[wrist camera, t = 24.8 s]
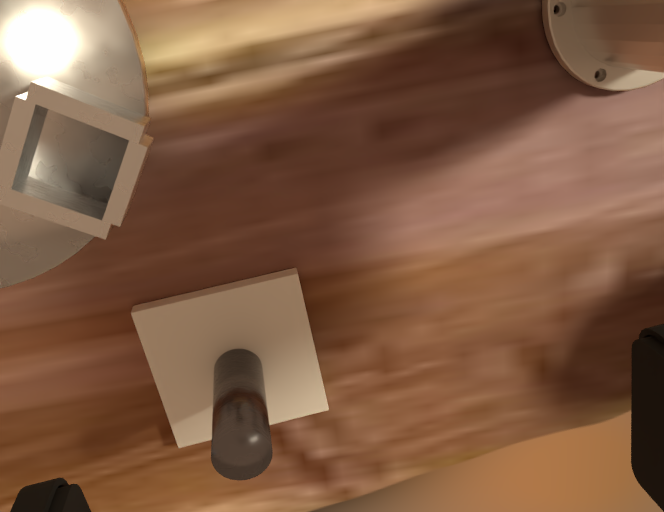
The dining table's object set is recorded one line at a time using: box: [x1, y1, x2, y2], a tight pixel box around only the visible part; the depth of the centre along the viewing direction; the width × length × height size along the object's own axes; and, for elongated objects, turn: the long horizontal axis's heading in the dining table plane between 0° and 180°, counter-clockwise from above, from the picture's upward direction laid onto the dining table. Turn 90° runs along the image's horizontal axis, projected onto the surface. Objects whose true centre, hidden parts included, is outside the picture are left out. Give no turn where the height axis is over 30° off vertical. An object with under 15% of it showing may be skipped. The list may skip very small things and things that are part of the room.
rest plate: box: [131, 268, 329, 448], centre depth 46 cm, size 12×12×1 cm
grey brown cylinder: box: [211, 349, 272, 480], centre depth 41 cm, size 4×4×10 cm
